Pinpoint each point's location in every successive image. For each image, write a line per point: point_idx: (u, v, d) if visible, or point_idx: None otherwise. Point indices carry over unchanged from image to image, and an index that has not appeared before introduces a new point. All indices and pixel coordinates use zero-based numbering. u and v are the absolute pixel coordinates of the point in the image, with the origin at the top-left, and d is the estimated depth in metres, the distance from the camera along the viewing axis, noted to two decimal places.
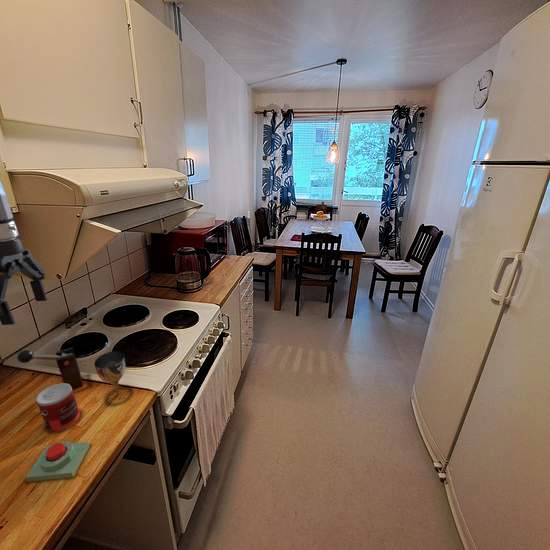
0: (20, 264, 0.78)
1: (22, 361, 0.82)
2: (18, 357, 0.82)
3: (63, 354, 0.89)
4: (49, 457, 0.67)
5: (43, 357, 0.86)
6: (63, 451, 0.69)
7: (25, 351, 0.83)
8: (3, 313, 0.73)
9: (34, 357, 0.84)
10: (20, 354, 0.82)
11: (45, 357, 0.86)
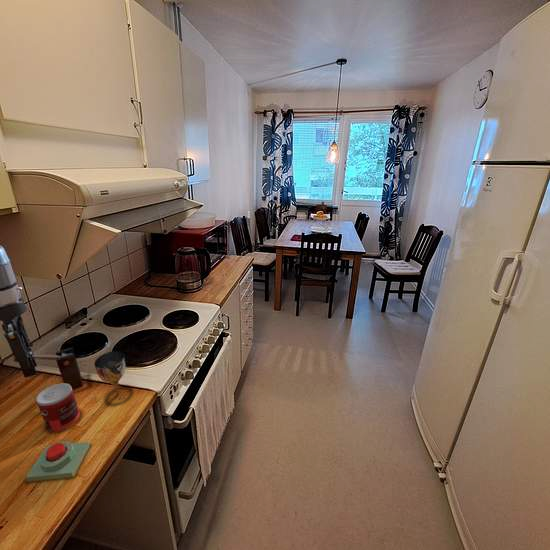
0: (21, 322, 0.81)
1: None
2: None
3: (63, 354, 0.89)
4: (49, 457, 0.67)
5: (43, 357, 0.86)
6: (63, 451, 0.69)
7: None
8: (29, 366, 0.82)
9: (34, 357, 0.84)
10: None
11: (45, 357, 0.86)
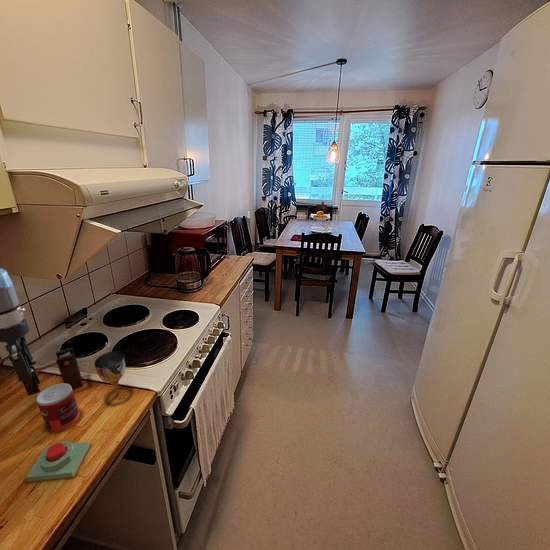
0: None
1: None
2: None
3: (60, 356, 0.89)
4: (49, 457, 0.67)
5: (43, 367, 0.87)
6: (63, 451, 0.69)
7: None
8: (33, 384, 0.84)
9: (35, 371, 0.86)
10: None
11: (45, 366, 0.87)
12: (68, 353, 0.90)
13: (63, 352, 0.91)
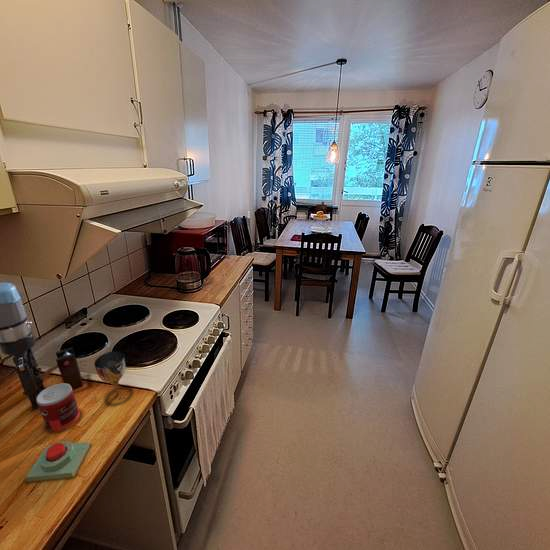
0: (30, 353, 0.85)
1: None
2: None
3: None
4: (49, 457, 0.67)
5: (48, 372, 0.88)
6: (63, 451, 0.69)
7: None
8: None
9: (42, 377, 0.87)
10: None
11: (49, 371, 0.88)
12: (66, 353, 0.90)
13: (63, 352, 0.91)
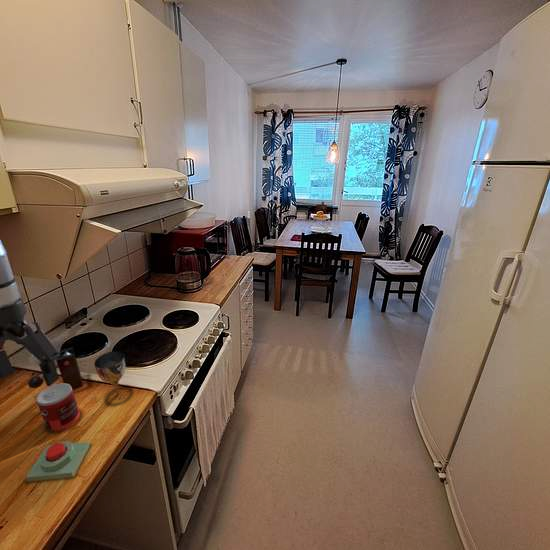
0: None
1: (36, 387, 0.86)
2: None
3: None
4: (49, 457, 0.67)
5: None
6: (63, 451, 0.69)
7: (29, 380, 0.86)
8: None
9: (42, 377, 0.87)
10: None
11: None
12: (66, 353, 0.90)
13: (63, 352, 0.91)
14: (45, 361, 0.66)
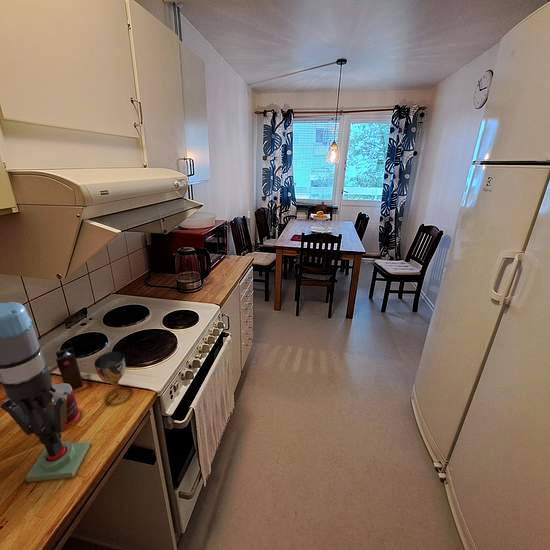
0: None
1: None
2: None
3: None
4: (50, 459, 0.68)
5: None
6: (63, 453, 0.69)
7: None
8: None
9: None
10: None
11: (49, 371, 0.88)
12: (66, 353, 0.90)
13: (63, 352, 0.91)
14: (53, 433, 0.66)
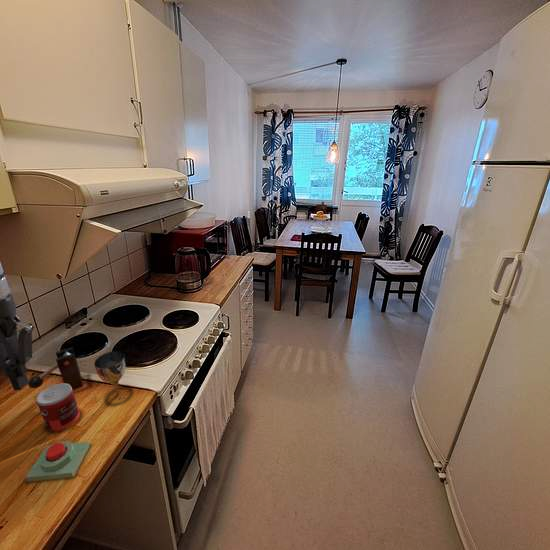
0: None
1: (36, 387, 0.86)
2: None
3: None
4: (49, 457, 0.67)
5: (48, 372, 0.88)
6: (63, 451, 0.69)
7: (29, 380, 0.86)
8: None
9: (42, 377, 0.87)
10: None
11: (49, 371, 0.88)
12: (66, 353, 0.90)
13: (63, 352, 0.91)
14: (17, 365, 0.65)
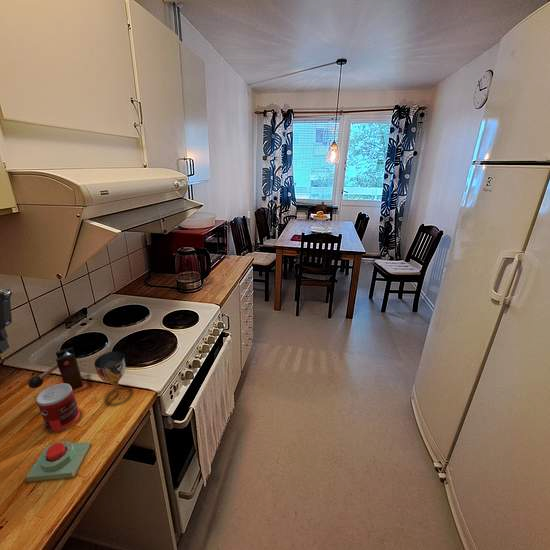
0: None
1: (36, 387, 0.86)
2: None
3: None
4: (49, 457, 0.67)
5: (48, 372, 0.88)
6: (63, 451, 0.69)
7: (29, 380, 0.86)
8: None
9: (42, 377, 0.87)
10: None
11: (49, 371, 0.88)
12: (66, 353, 0.90)
13: (63, 352, 0.91)
14: None
